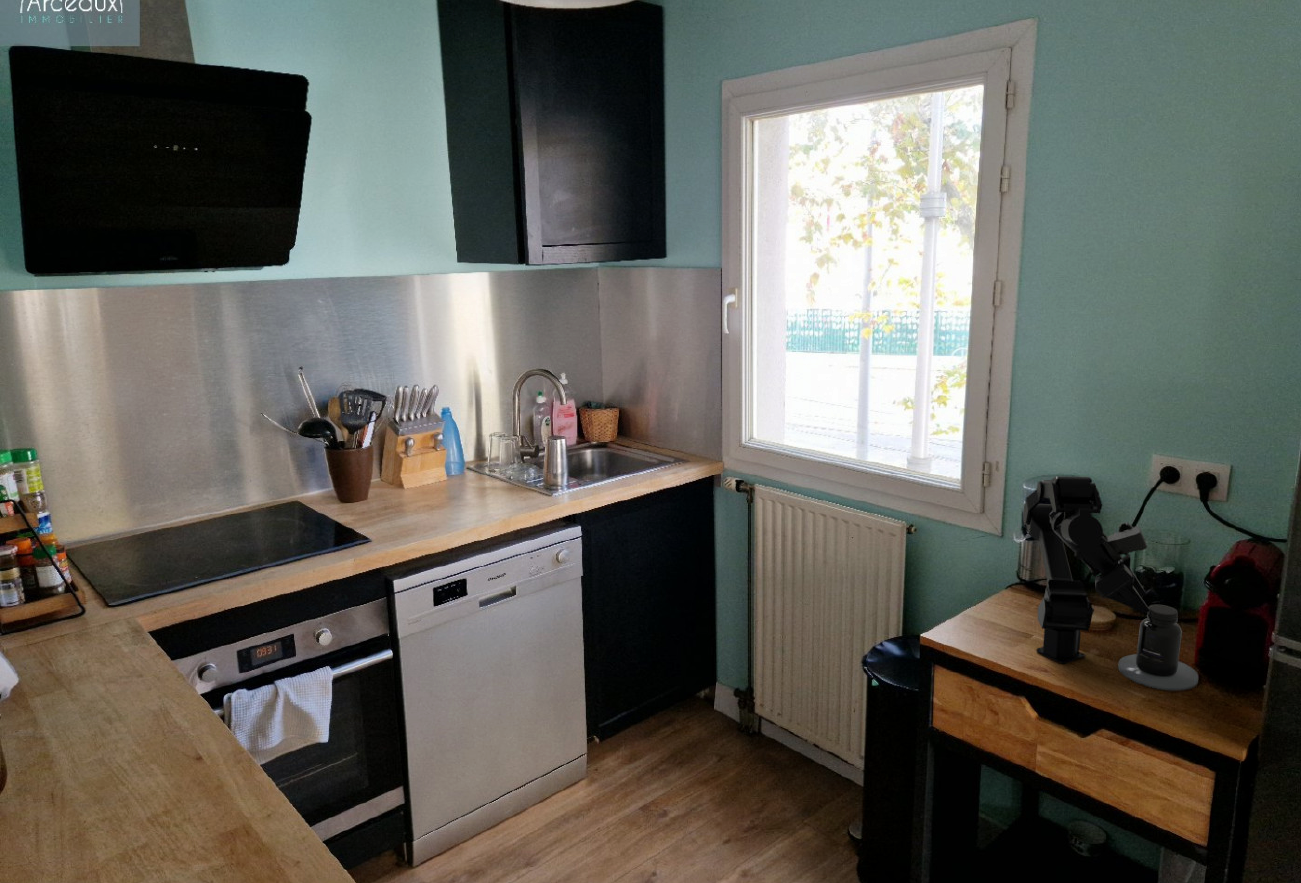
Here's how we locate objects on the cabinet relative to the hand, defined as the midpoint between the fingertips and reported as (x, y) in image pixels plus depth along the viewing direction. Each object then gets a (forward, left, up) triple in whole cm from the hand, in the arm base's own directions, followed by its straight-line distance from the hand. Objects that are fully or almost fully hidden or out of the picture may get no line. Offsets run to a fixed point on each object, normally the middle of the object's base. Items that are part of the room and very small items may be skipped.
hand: (1145, 603), depth 164 cm
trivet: (+2, -2, -14) cm, 14 cm away
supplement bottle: (+2, -2, -13) cm, 13 cm away
